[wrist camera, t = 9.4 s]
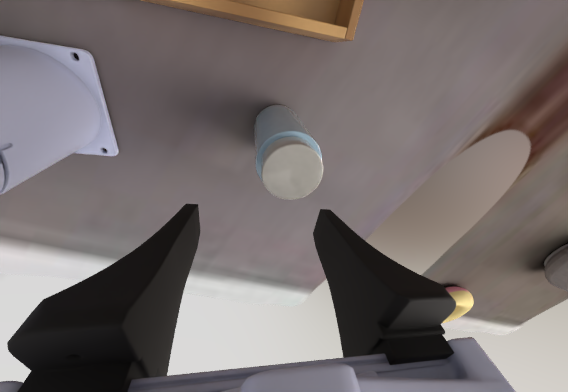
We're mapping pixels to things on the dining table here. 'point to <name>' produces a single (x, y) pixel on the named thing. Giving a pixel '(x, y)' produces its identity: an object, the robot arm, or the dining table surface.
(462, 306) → the donut
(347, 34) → the wooden tray
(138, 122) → the dining table surface
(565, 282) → the coffee pot
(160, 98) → the dining table surface
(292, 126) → the shaker
